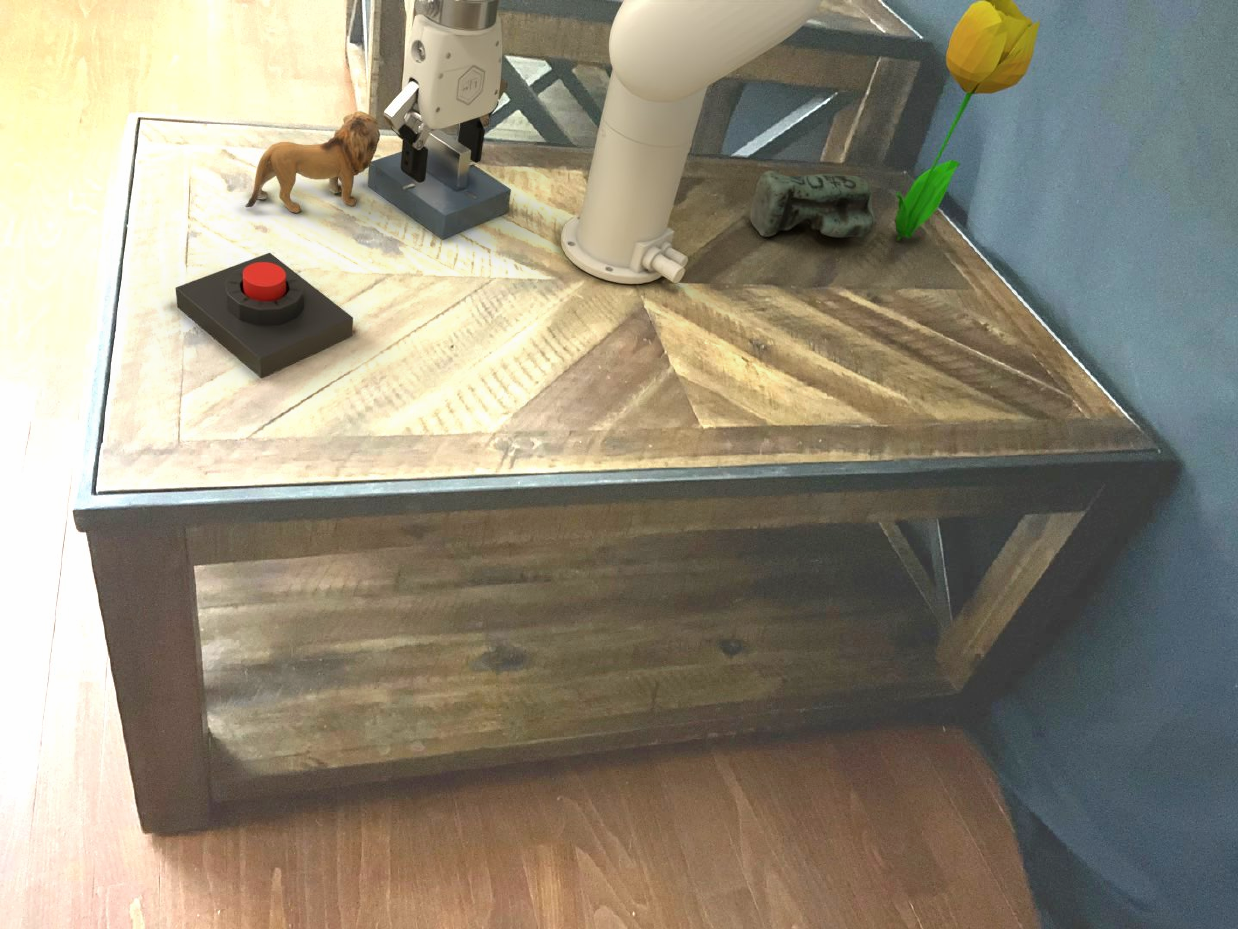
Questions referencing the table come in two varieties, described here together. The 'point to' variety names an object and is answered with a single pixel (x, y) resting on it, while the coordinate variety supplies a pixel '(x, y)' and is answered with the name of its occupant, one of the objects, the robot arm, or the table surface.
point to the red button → (264, 281)
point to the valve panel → (440, 196)
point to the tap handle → (447, 159)
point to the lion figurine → (320, 160)
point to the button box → (264, 318)
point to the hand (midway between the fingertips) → (441, 165)
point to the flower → (972, 88)
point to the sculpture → (813, 204)
